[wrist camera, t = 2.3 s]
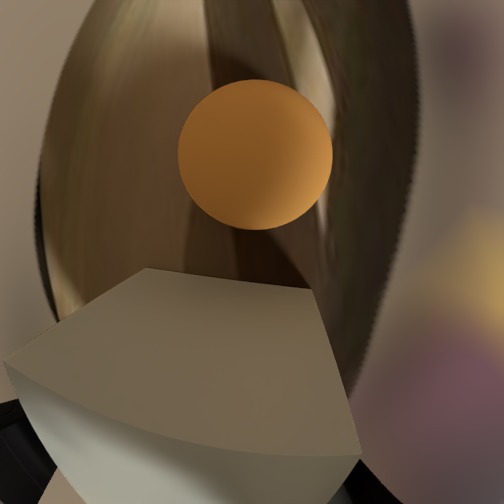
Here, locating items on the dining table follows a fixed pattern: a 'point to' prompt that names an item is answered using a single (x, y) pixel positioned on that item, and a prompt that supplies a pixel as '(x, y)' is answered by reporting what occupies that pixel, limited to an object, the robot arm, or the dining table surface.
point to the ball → (255, 154)
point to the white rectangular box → (190, 394)
